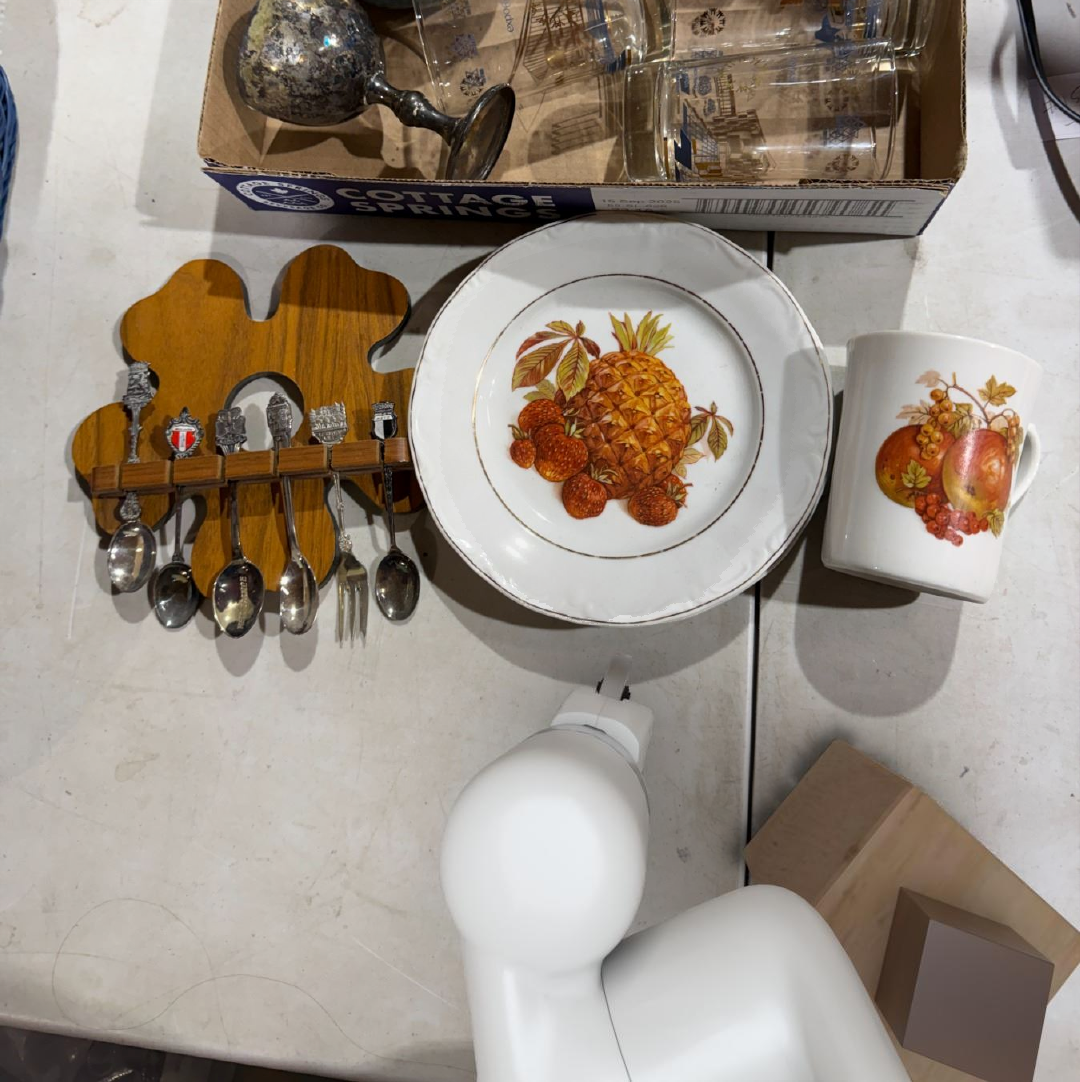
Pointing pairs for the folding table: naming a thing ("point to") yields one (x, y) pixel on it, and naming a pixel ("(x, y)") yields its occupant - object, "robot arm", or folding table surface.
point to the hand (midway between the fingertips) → (594, 767)
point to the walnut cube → (963, 990)
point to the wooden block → (893, 871)
